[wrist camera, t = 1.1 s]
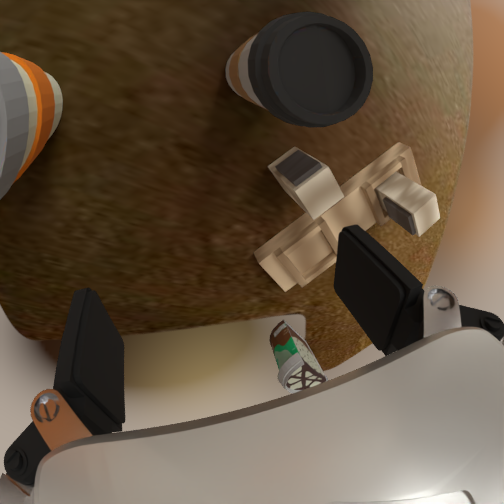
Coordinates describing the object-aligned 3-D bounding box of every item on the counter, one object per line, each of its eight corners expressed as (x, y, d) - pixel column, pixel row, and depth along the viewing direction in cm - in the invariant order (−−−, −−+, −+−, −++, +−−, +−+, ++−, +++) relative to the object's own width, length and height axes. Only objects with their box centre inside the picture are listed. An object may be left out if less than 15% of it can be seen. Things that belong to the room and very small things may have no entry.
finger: (264, 162, 33) (291, 186, 26) (292, 142, 32) (325, 161, 26) (284, 190, 35) (313, 220, 29) (310, 171, 35) (344, 196, 28)
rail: (398, 142, 36) (453, 167, 27) (410, 178, 40) (459, 208, 31) (252, 252, 39) (280, 306, 30) (279, 281, 43) (308, 332, 35)
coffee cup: (284, 33, 25) (371, 11, 13) (295, 102, 29) (382, 125, 17) (207, 42, 23) (246, 8, 11) (222, 115, 28) (270, 143, 16)
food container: (249, 335, 48) (267, 383, 40) (279, 315, 47) (302, 362, 39) (283, 360, 55) (301, 401, 47) (309, 344, 54) (330, 384, 46)
